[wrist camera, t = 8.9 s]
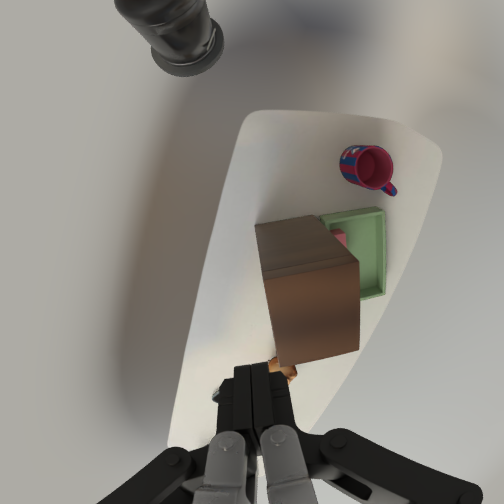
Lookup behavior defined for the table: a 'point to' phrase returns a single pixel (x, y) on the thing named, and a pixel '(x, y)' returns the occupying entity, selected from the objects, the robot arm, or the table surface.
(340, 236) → the eraser
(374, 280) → the tray
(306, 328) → the walnut stand
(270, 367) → the pot
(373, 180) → the cup
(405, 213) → the table surface
